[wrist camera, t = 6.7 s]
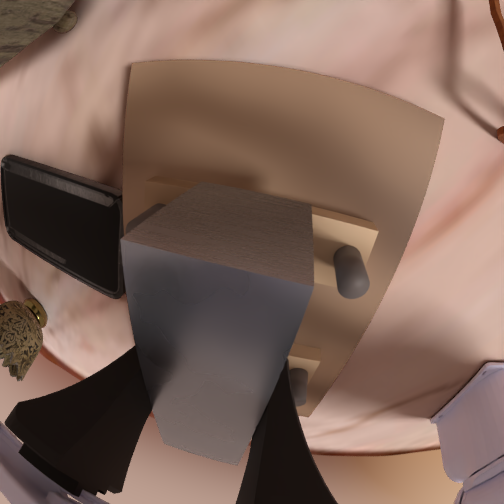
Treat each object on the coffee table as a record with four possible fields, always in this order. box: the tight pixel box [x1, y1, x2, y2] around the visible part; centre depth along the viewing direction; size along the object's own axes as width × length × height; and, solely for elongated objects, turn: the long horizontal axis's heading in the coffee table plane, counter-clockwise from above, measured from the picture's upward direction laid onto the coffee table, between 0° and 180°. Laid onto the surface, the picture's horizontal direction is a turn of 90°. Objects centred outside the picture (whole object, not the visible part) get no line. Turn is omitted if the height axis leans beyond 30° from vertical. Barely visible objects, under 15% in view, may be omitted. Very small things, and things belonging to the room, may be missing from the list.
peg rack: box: [122, 60, 445, 417], centre depth 13 cm, size 22×14×4 cm, turn 171°
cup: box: [0, 298, 47, 381], centre depth 19 cm, size 8×7×8 cm
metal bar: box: [120, 181, 314, 465], centre depth 10 cm, size 12×4×5 cm, turn 171°
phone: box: [1, 155, 126, 299], centre depth 16 cm, size 8×1×15 cm
